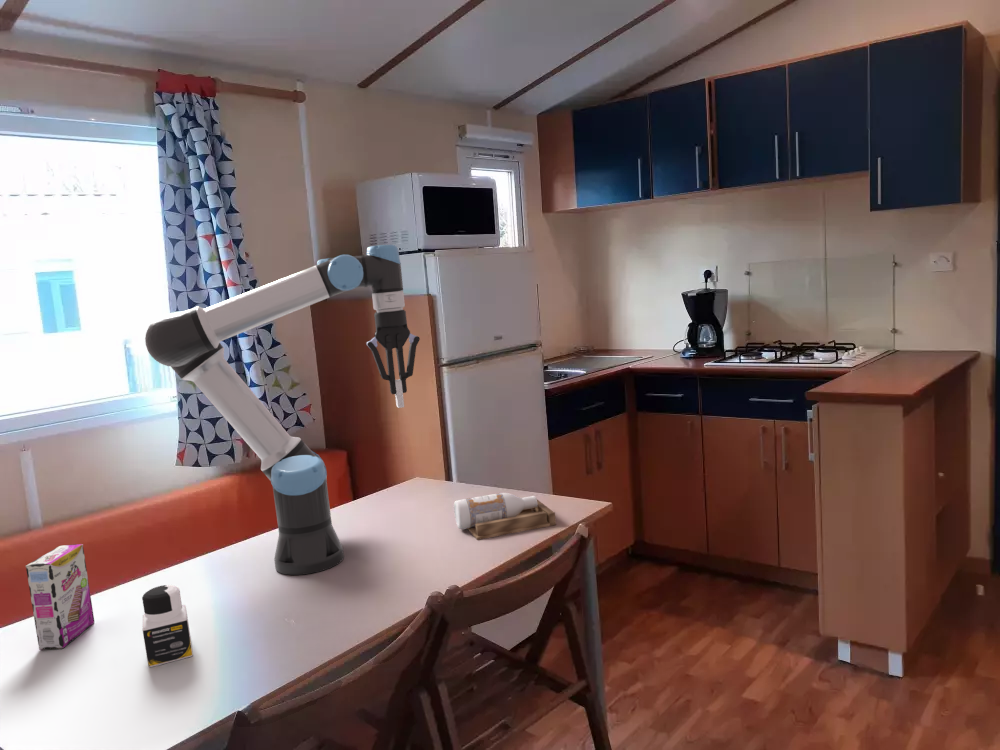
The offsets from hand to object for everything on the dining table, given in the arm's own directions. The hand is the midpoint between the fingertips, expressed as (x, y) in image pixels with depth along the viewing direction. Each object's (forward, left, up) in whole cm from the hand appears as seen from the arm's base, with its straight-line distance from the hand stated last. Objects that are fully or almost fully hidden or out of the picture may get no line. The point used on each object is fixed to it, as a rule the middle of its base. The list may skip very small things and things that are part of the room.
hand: (400, 406), depth 194 cm
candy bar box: (-72, -28, -31) cm, 83 cm away
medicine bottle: (-52, -46, -31) cm, 76 cm away
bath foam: (+9, -10, -26) cm, 29 cm away
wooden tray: (+20, -11, -30) cm, 38 cm away
